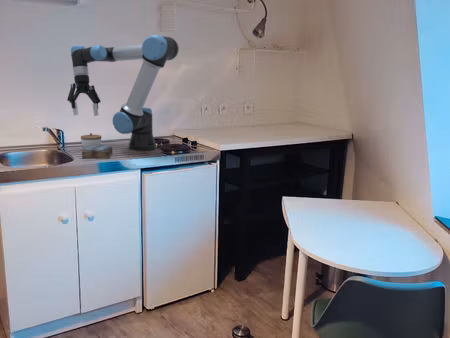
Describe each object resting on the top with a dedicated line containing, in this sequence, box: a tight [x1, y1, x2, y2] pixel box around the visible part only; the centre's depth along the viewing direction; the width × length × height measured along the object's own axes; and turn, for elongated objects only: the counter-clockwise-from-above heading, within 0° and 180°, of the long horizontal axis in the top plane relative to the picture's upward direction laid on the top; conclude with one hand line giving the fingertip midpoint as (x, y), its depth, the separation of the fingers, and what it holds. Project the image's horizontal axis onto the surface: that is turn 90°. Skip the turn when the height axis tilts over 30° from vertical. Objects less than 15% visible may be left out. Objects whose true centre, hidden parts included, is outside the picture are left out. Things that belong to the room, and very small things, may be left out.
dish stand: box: [81, 144, 113, 159], centre depth 213 cm, size 13×13×4 cm
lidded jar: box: [80, 132, 102, 149], centre depth 226 cm, size 11×11×9 cm
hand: (86, 115), depth 222 cm, fingers open, 13 cm apart
